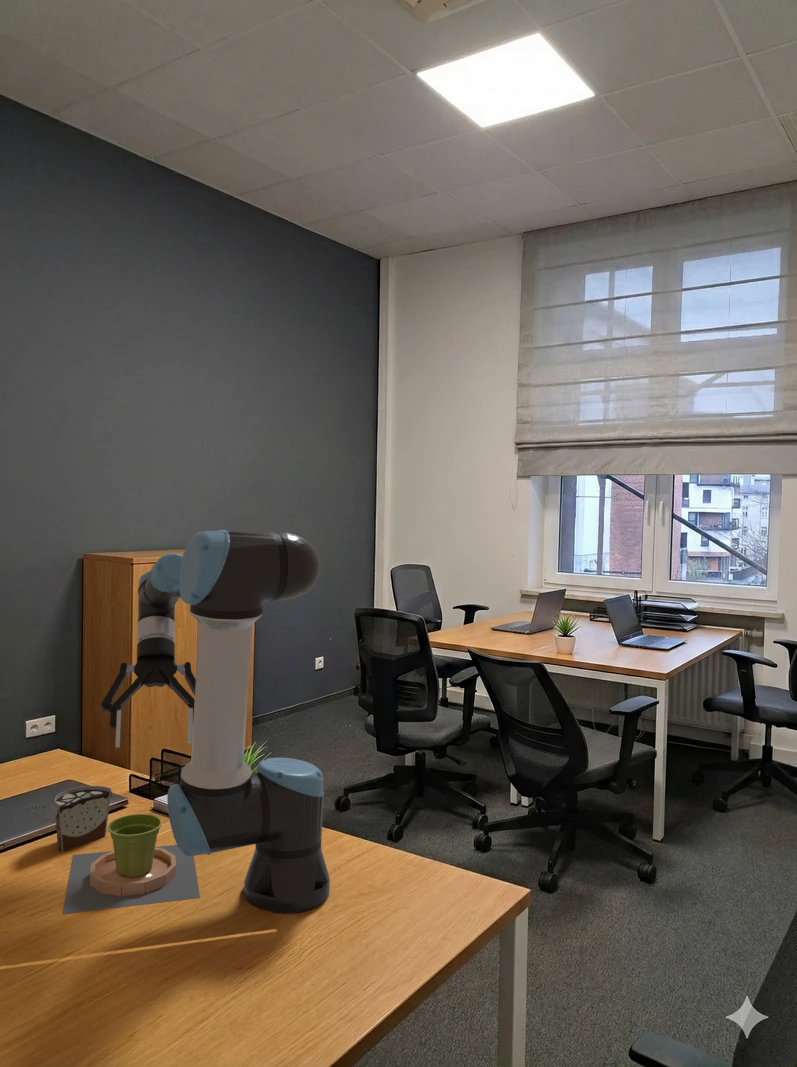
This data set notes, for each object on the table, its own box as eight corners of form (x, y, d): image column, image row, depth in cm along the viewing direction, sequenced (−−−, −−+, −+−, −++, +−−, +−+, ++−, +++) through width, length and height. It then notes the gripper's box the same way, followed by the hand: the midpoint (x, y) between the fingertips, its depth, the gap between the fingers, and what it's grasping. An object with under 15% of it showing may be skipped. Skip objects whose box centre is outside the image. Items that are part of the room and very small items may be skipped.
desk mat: (191, 845, 157) (191, 843, 157) (200, 899, 136) (200, 897, 136) (72, 857, 150) (72, 854, 150) (62, 916, 129) (62, 913, 129)
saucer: (173, 853, 152) (173, 843, 152) (177, 889, 139) (177, 878, 138) (92, 861, 148) (92, 851, 148) (87, 900, 134) (88, 888, 134)
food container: (94, 827, 164) (95, 780, 163) (111, 836, 160) (113, 787, 159) (37, 847, 154) (38, 797, 153) (55, 856, 150) (56, 805, 150)
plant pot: (108, 886, 137) (109, 838, 137) (105, 863, 146) (106, 817, 145) (163, 878, 141) (165, 830, 140) (157, 855, 149) (158, 810, 149)
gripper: (214, 649, 171) (217, 746, 161) (91, 649, 162) (86, 752, 152) (219, 635, 165) (222, 735, 154) (91, 635, 156) (85, 741, 146)
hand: (154, 744), depth 153 cm, fingers open, 13 cm apart
